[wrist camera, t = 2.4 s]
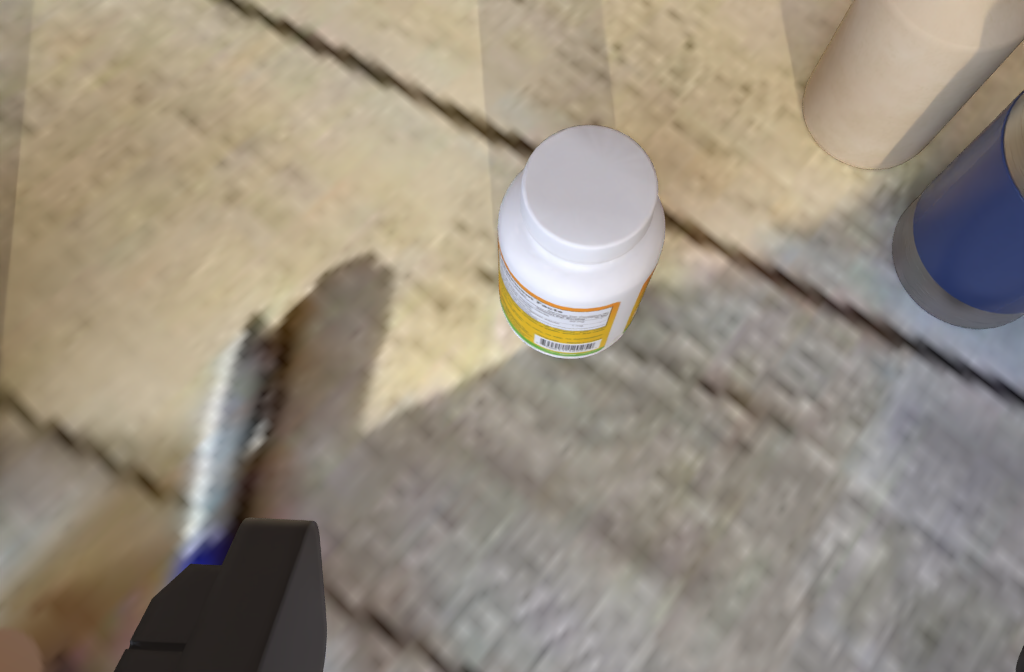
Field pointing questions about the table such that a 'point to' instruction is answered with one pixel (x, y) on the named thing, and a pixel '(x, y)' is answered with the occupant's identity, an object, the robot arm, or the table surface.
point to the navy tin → (970, 231)
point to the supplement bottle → (579, 241)
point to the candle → (904, 74)
